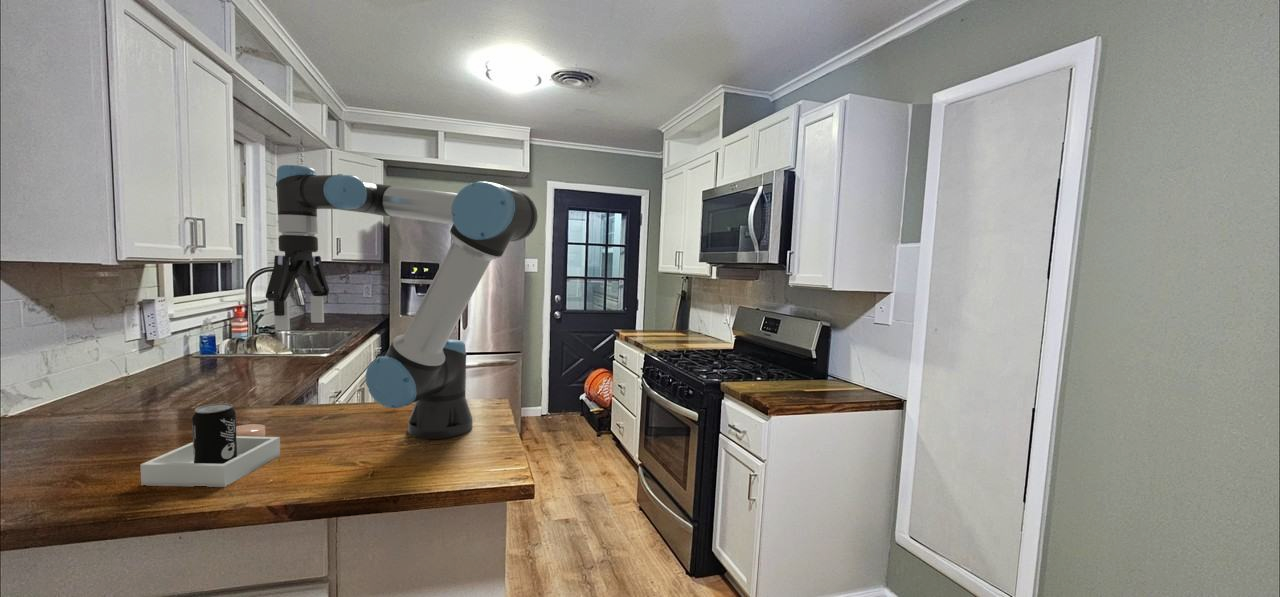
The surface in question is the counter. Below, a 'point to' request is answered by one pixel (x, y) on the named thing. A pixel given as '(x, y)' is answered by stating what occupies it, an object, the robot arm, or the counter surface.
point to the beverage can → (214, 433)
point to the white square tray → (184, 472)
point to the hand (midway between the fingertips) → (301, 326)
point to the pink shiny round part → (251, 430)
